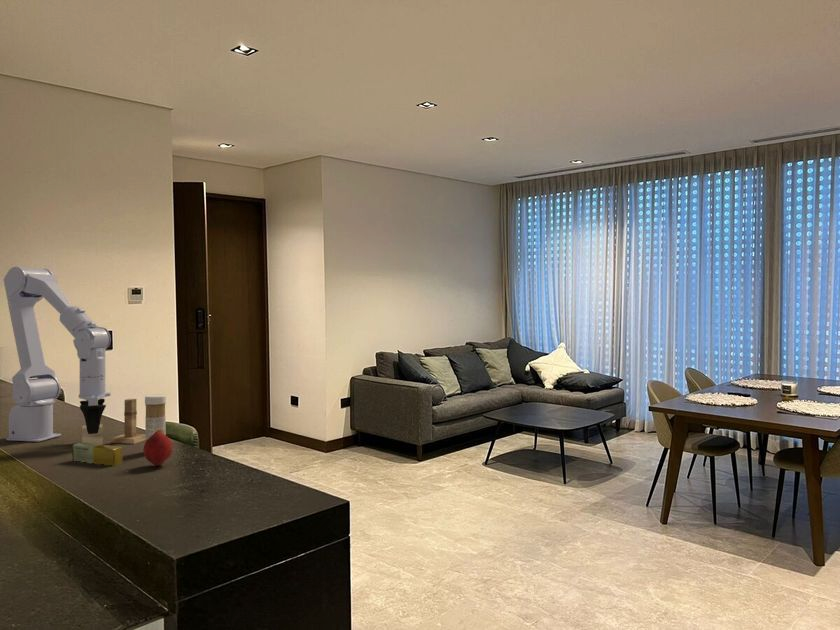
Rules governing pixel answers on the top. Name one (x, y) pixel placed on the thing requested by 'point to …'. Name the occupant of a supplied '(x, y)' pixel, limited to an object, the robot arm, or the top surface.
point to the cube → (92, 436)
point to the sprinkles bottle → (154, 414)
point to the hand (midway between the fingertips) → (92, 430)
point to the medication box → (97, 453)
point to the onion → (158, 448)
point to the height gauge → (129, 425)
